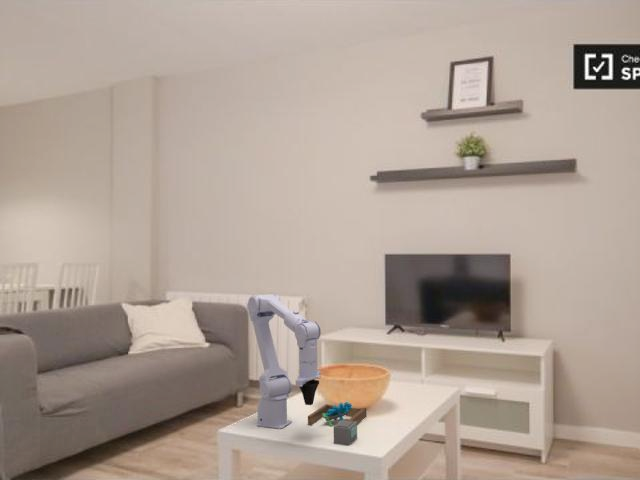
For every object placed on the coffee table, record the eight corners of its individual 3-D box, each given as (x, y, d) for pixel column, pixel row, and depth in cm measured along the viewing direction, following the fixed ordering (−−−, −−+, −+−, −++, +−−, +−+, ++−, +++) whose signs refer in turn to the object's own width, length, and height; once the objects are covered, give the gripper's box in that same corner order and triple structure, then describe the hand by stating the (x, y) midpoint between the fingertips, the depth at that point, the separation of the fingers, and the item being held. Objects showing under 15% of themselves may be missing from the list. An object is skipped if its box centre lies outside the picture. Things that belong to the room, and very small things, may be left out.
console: (333, 443, 173) (333, 426, 173) (342, 436, 180) (341, 419, 180) (349, 445, 171) (349, 428, 171) (357, 438, 177) (357, 421, 177)
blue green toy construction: (346, 412, 200) (353, 397, 193) (353, 427, 196) (360, 412, 189) (318, 420, 195) (323, 406, 188) (325, 436, 192) (330, 421, 185)
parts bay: (307, 425, 191) (307, 415, 191) (325, 412, 205) (325, 403, 205) (351, 430, 185) (350, 420, 185) (366, 417, 199) (366, 407, 199)
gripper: (310, 366, 171) (310, 412, 170) (329, 357, 184) (329, 399, 184) (289, 364, 173) (289, 409, 173) (309, 356, 187) (309, 397, 187)
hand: (309, 404), depth 179 cm, fingers closed
